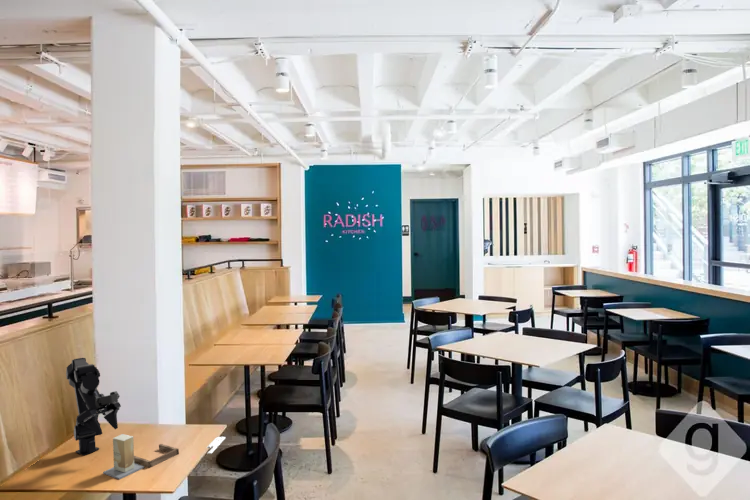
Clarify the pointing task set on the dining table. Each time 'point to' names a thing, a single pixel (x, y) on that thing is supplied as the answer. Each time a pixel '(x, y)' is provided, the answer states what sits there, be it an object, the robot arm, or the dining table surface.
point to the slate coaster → (120, 474)
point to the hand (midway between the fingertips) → (109, 431)
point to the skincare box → (123, 453)
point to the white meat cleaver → (215, 444)
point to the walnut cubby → (147, 463)
